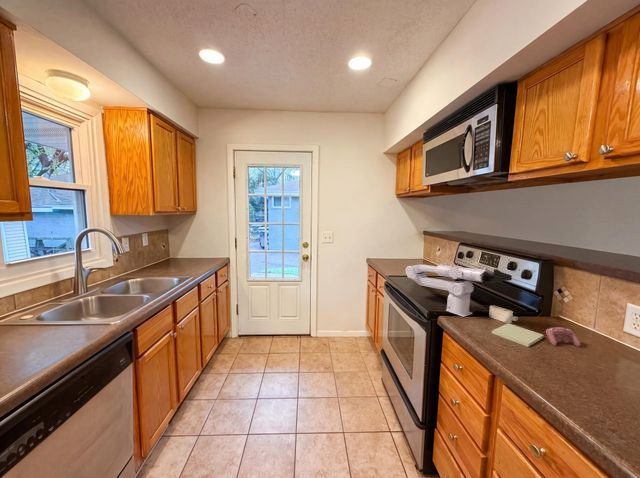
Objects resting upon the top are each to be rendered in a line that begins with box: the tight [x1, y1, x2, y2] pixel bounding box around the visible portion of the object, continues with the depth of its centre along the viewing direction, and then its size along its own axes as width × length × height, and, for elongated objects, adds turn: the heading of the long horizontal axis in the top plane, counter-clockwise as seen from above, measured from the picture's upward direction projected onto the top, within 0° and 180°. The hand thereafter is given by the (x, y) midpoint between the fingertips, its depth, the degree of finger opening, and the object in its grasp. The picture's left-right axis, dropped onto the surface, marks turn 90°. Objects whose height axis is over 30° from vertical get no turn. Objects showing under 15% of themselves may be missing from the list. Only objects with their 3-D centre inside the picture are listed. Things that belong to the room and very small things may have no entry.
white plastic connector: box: [488, 305, 519, 324], centre depth 129 cm, size 12×4×5 cm, turn 33°
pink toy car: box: [545, 326, 581, 348], centre depth 108 cm, size 10×5×7 cm, turn 84°
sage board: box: [491, 323, 545, 348], centre depth 114 cm, size 13×14×1 cm
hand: (507, 279), depth 119 cm, fingers open, 7 cm apart
